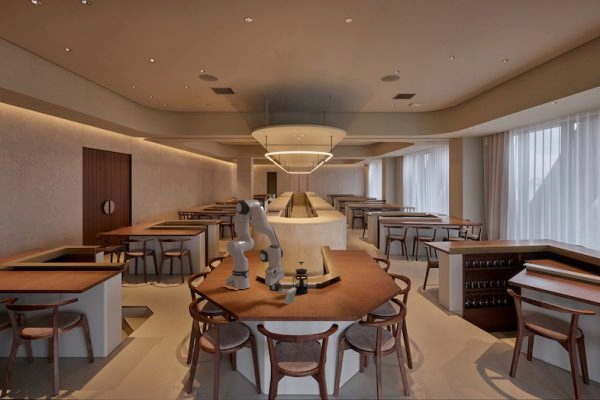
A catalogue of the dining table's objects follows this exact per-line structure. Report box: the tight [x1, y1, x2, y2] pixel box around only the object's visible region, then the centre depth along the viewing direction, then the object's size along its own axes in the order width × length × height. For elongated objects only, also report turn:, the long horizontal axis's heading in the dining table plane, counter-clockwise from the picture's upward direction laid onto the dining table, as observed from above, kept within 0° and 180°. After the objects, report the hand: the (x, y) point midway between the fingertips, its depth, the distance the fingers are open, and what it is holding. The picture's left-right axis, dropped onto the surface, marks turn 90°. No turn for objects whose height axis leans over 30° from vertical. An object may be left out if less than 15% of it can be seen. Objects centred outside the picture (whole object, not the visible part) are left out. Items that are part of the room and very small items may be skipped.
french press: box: [292, 261, 309, 295], centre depth 232 cm, size 12×9×23 cm
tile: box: [283, 286, 296, 305], centre depth 212 cm, size 3×9×9 cm, turn 154°
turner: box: [268, 283, 289, 295], centre depth 215 cm, size 15×6×4 cm, turn 64°
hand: (275, 288), depth 217 cm, fingers closed on turner, 3 cm apart
